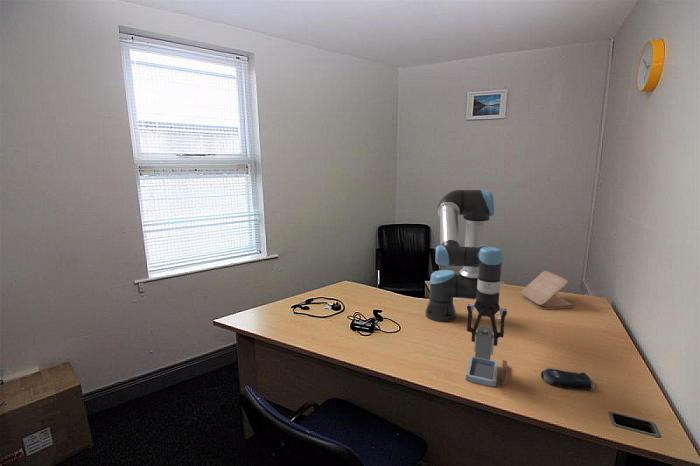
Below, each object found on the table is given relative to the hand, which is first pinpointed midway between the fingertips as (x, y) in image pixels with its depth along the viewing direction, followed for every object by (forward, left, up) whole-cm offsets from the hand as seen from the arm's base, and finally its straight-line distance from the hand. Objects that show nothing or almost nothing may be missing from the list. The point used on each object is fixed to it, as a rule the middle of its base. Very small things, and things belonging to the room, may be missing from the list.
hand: (483, 351), depth 132 cm
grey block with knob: (0, 0, 0) cm, 0 cm away
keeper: (0, 0, -9) cm, 9 cm away
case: (+27, +89, -9) cm, 94 cm away
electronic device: (+27, +6, -9) cm, 30 cm away
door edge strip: (+7, +2, -9) cm, 12 cm away
